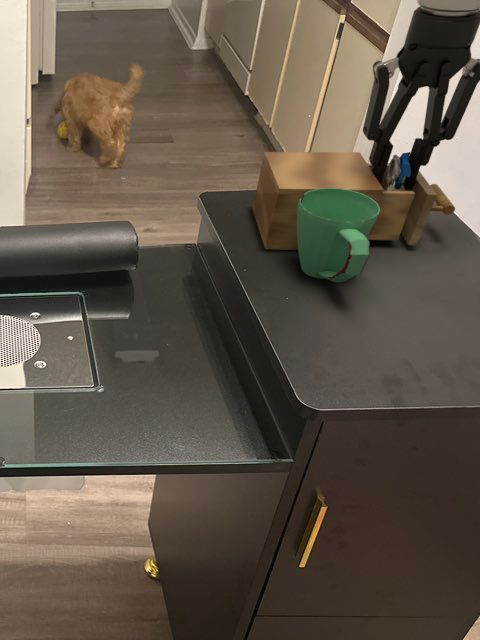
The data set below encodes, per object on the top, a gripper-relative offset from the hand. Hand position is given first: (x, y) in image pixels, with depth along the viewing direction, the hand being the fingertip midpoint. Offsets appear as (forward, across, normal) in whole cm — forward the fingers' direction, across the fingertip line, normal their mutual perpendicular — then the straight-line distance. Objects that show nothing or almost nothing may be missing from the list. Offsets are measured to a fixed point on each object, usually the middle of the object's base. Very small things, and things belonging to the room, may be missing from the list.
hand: (389, 185), depth 104 cm
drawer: (+6, 0, 0) cm, 6 cm away
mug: (+7, -10, -14) cm, 19 cm away
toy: (+1, 0, 0) cm, 1 cm away
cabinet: (+7, -10, 0) cm, 12 cm away
